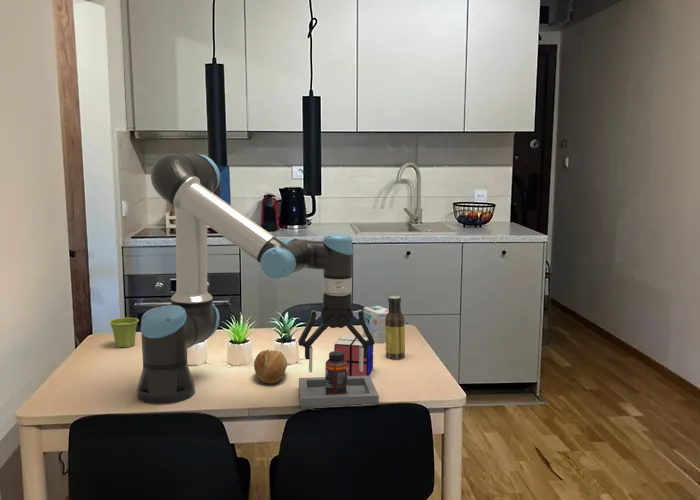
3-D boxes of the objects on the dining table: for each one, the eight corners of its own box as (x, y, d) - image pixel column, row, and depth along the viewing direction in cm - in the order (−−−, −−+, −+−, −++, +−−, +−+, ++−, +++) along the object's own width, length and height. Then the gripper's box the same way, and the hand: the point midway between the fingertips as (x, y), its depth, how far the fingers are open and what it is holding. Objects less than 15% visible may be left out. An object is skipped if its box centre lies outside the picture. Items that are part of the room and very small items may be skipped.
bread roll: (252, 387, 189) (252, 359, 188) (255, 370, 204) (255, 344, 203) (287, 386, 190) (286, 359, 189) (287, 369, 205) (287, 344, 204)
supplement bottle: (351, 392, 182) (352, 352, 181) (339, 399, 177) (339, 357, 176) (333, 388, 185) (333, 348, 184) (320, 394, 180) (321, 353, 179)
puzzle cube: (367, 379, 196) (367, 346, 195) (334, 377, 198) (334, 344, 197) (373, 368, 206) (373, 337, 204) (341, 366, 208) (341, 335, 206)
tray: (301, 409, 172) (301, 398, 172) (298, 388, 188) (298, 377, 188) (378, 406, 175) (378, 395, 174) (369, 385, 190) (369, 375, 190)
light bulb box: (362, 336, 242) (362, 307, 240) (378, 334, 245) (378, 305, 243) (377, 343, 233) (377, 313, 231) (394, 341, 236) (394, 311, 234)
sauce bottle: (399, 353, 221) (400, 294, 219) (408, 358, 216) (409, 297, 213) (381, 355, 219) (382, 295, 216) (390, 361, 213) (391, 299, 210)
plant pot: (105, 345, 228) (104, 320, 227) (130, 340, 235) (129, 316, 234) (119, 351, 222) (118, 325, 221) (145, 345, 229) (143, 320, 228)
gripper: (290, 296, 172) (289, 375, 175) (386, 295, 175) (384, 374, 178) (289, 289, 179) (288, 366, 183) (381, 289, 182) (379, 365, 186)
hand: (335, 370), depth 180 cm, fingers open, 13 cm apart
